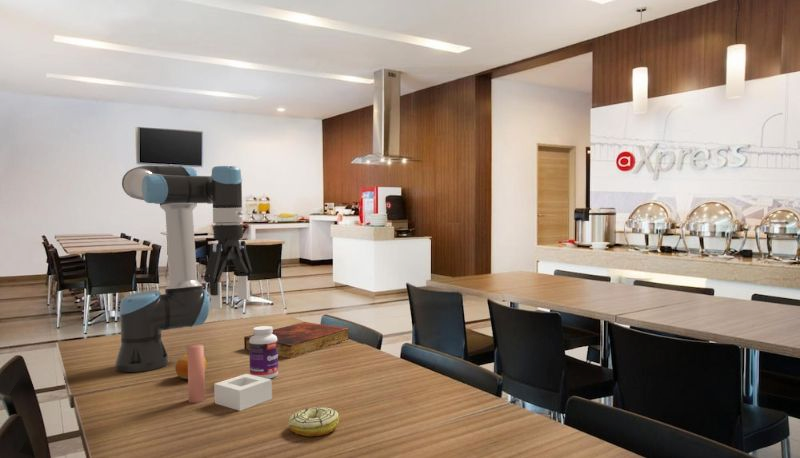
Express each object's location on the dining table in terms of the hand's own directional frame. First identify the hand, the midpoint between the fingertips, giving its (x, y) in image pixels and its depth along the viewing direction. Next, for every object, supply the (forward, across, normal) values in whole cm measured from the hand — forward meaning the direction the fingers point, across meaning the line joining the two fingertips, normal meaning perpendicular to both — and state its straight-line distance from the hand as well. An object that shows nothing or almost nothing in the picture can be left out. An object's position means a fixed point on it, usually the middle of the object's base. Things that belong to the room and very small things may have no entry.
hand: (230, 303), depth 146 cm
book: (+25, +52, +3) cm, 57 cm away
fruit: (+24, +9, +19) cm, 32 cm away
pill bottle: (+24, +14, -2) cm, 28 cm away
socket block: (+24, -7, -7) cm, 26 cm away
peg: (+24, -8, +6) cm, 26 cm away
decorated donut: (+24, -20, -32) cm, 45 cm away
